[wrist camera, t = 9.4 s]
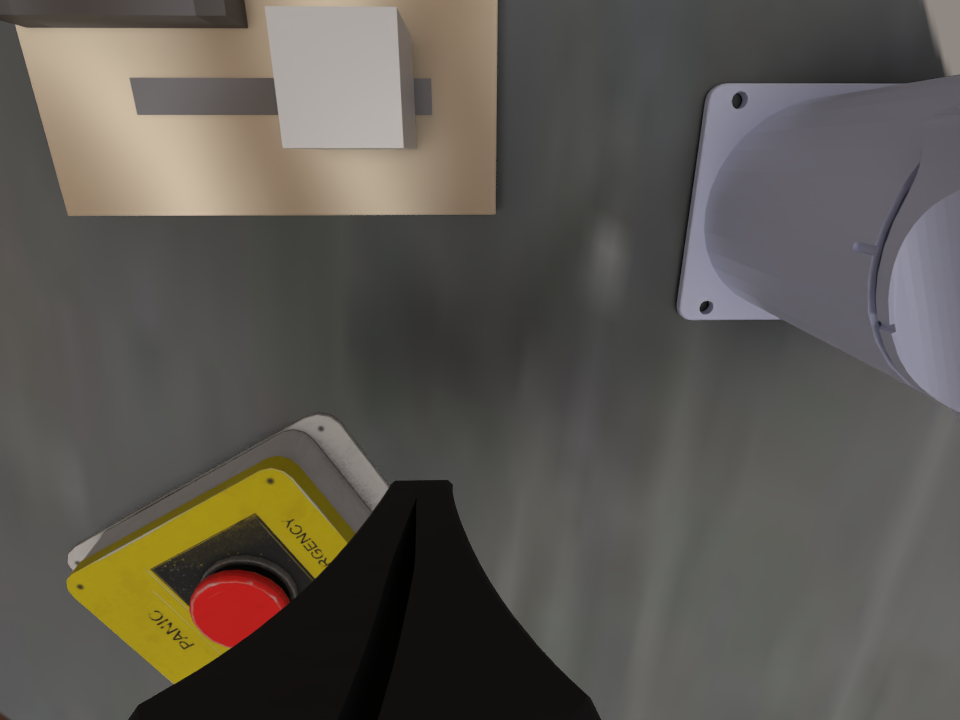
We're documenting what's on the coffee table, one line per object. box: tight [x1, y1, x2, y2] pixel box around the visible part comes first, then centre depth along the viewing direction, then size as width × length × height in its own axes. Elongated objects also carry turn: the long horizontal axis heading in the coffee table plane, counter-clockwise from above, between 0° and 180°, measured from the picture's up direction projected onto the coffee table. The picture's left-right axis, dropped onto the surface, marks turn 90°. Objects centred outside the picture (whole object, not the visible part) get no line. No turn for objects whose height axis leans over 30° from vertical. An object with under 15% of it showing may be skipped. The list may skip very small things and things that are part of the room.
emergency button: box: [67, 413, 390, 684], centre depth 23 cm, size 9×4×15 cm
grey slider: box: [265, 6, 417, 150], centre depth 14 cm, size 3×3×4 cm
